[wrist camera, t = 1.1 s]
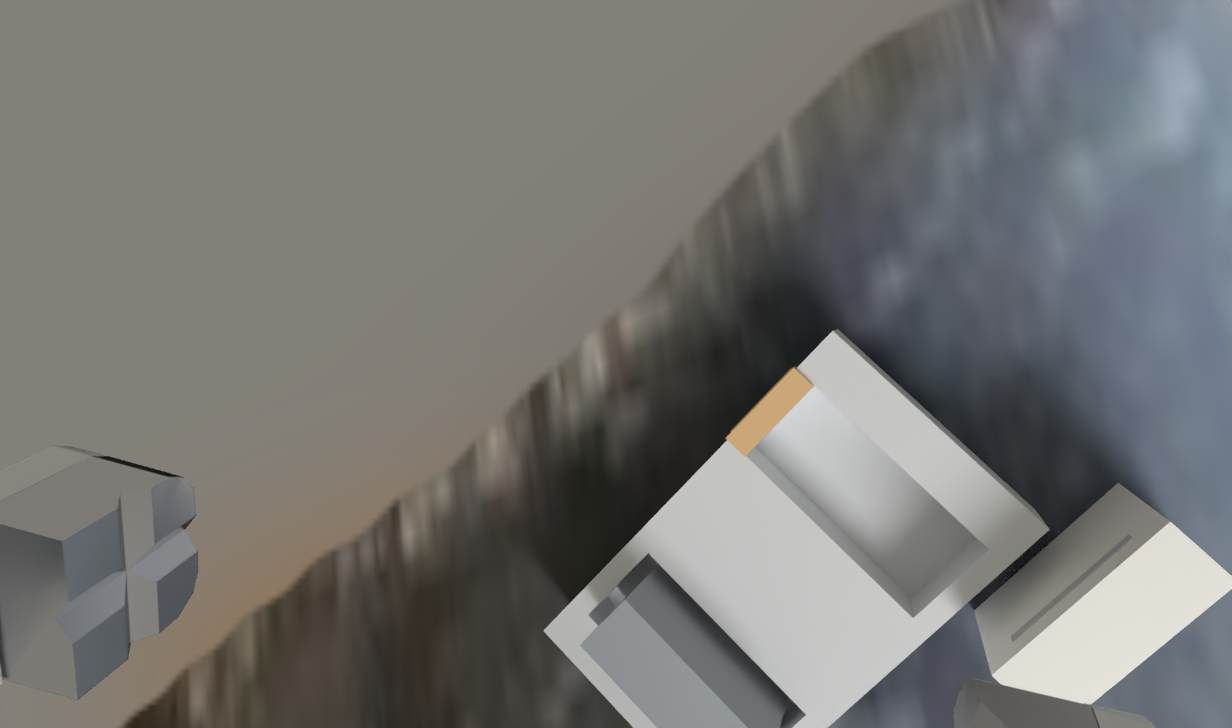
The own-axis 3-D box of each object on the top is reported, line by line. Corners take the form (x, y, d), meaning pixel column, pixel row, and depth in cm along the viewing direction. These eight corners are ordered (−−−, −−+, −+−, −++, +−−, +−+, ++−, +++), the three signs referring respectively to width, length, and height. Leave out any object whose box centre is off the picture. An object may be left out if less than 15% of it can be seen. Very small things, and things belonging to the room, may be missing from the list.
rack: (1035, 509, 41) (1067, 553, 34) (735, 780, 46) (704, 872, 38) (834, 326, 44) (822, 328, 36) (568, 602, 48) (507, 657, 41)
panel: (1117, 481, 40) (1168, 520, 33) (1173, 532, 40) (1239, 583, 32) (973, 609, 42) (990, 674, 35) (1025, 659, 42) (1054, 736, 34)
